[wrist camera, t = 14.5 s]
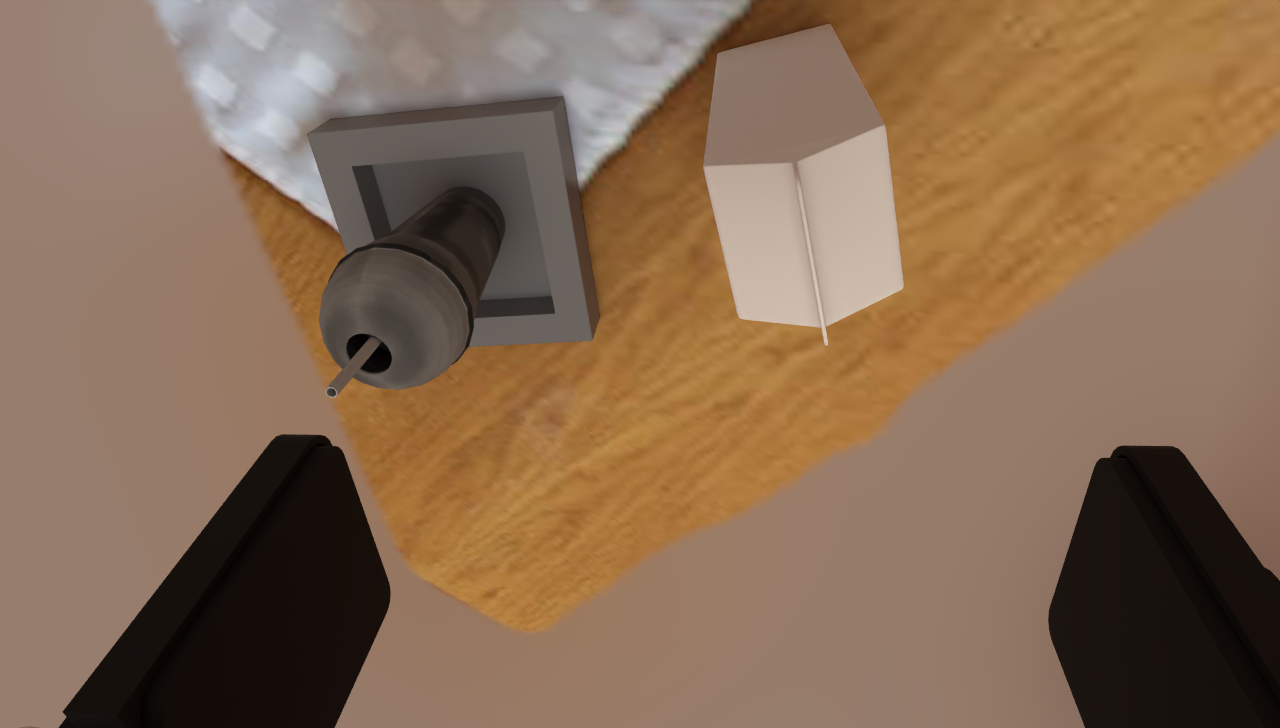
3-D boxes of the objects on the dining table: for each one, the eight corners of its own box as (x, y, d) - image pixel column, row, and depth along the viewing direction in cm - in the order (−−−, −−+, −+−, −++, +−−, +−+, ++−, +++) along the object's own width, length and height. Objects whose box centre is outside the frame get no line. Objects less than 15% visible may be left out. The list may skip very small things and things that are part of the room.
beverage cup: (394, 241, 50) (216, 436, 33) (433, 140, 46) (254, 302, 29) (501, 295, 51) (381, 509, 34) (547, 201, 47) (438, 390, 30)
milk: (739, 159, 45) (733, 368, 27) (716, 49, 42) (692, 201, 24) (848, 134, 44) (921, 337, 26) (832, 19, 41) (902, 155, 23)
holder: (330, 119, 47) (306, 134, 44) (563, 96, 45) (552, 110, 42) (396, 328, 54) (379, 351, 51) (599, 317, 52) (592, 340, 49)
